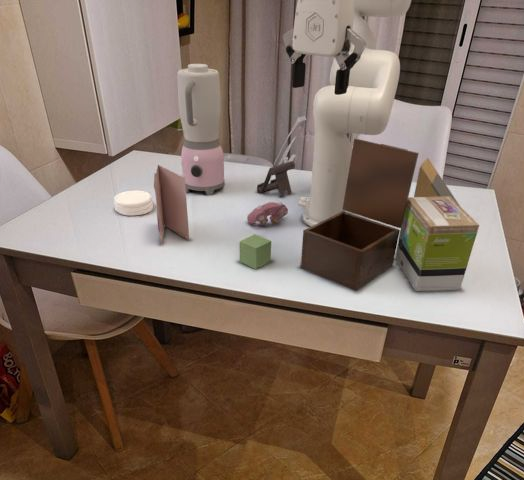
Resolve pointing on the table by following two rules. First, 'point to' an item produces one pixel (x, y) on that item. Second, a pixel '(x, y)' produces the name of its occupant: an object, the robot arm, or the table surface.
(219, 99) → the blender
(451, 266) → the tea box
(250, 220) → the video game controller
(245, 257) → the green block
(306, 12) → the robot arm
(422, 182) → the sandwich container
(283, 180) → the tablet stand
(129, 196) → the coaster
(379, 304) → the table surface
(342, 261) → the wooden box
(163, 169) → the greeting card
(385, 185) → the lid
